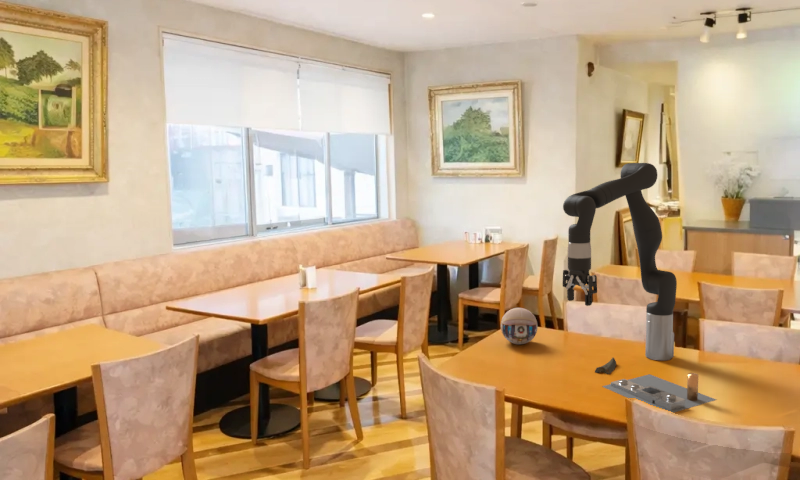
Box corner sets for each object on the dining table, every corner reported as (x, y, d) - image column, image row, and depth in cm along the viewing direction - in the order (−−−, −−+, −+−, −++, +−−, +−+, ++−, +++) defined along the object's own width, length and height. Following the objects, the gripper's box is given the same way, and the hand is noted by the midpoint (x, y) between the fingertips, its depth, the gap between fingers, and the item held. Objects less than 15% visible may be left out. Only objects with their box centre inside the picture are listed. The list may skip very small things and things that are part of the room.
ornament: (493, 344, 254) (492, 308, 252) (515, 336, 264) (515, 302, 262) (523, 351, 243) (523, 314, 241) (544, 343, 253) (544, 307, 251)
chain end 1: (624, 382, 207) (624, 377, 207) (666, 399, 192) (666, 394, 191) (610, 385, 204) (610, 380, 204) (652, 403, 189) (652, 397, 189)
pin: (691, 396, 193) (692, 372, 192) (699, 399, 190) (700, 375, 189) (684, 398, 192) (685, 373, 191) (693, 401, 189) (693, 376, 188)
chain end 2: (649, 392, 197) (650, 382, 197) (684, 407, 185) (685, 396, 185) (636, 396, 195) (636, 386, 194) (670, 411, 183) (671, 400, 182)
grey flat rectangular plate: (649, 375, 213) (649, 374, 213) (716, 400, 190) (716, 399, 190) (601, 387, 204) (601, 386, 204) (666, 415, 181) (666, 414, 181)
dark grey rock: (607, 377, 214) (607, 367, 213) (594, 374, 217) (594, 364, 217) (624, 368, 223) (624, 358, 222) (611, 365, 226) (611, 355, 226)
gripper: (603, 257, 199) (603, 305, 202) (573, 251, 212) (573, 297, 215) (585, 259, 196) (585, 308, 199) (556, 253, 209) (556, 300, 211)
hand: (579, 302), depth 207 cm, fingers open, 8 cm apart
